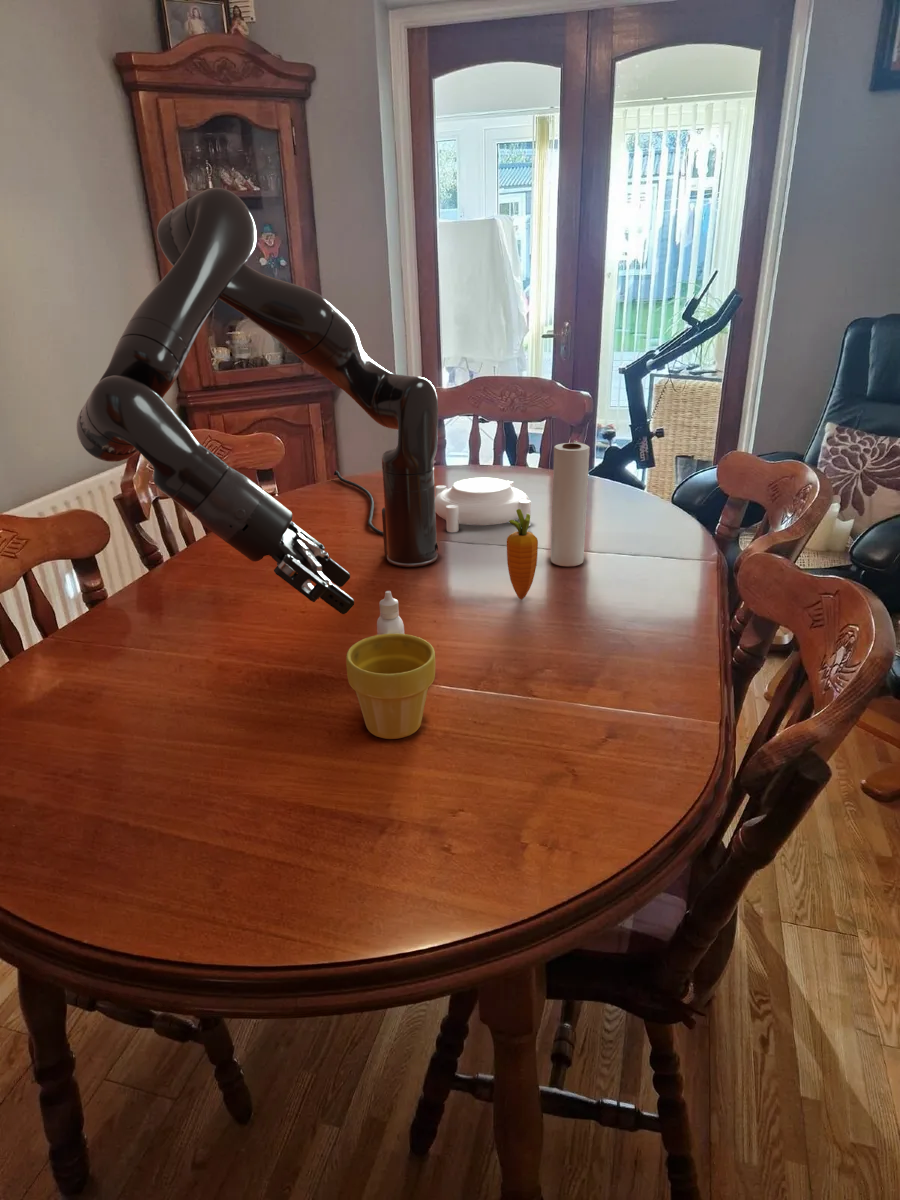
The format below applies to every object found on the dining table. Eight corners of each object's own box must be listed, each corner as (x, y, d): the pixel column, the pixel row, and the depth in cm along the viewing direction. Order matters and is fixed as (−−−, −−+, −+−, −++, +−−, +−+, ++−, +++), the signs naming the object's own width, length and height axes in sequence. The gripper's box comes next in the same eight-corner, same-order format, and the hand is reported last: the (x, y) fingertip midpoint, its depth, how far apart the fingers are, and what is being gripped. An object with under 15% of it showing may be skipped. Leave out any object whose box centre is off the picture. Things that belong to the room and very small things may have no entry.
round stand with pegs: (467, 495, 179) (466, 465, 176) (557, 511, 166) (558, 479, 163) (403, 522, 161) (402, 490, 158) (498, 542, 148) (498, 507, 145)
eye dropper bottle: (370, 682, 99) (364, 599, 94) (384, 662, 104) (379, 582, 99) (402, 686, 98) (397, 602, 93) (415, 665, 103) (411, 584, 98)
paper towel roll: (568, 570, 134) (574, 451, 125) (543, 561, 138) (546, 445, 130) (594, 559, 139) (601, 444, 130) (569, 551, 143) (574, 438, 134)
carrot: (535, 606, 121) (537, 516, 114) (504, 604, 122) (504, 515, 115) (538, 594, 125) (540, 507, 119) (508, 592, 126) (508, 506, 120)
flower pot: (449, 708, 94) (447, 638, 90) (419, 755, 85) (416, 680, 81) (373, 695, 97) (368, 627, 93) (336, 740, 88) (329, 667, 84)
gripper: (227, 518, 95) (327, 593, 102) (215, 558, 83) (330, 640, 89) (265, 475, 94) (363, 553, 101) (259, 508, 81) (372, 595, 88)
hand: (347, 594), depth 95 cm, fingers open, 8 cm apart
